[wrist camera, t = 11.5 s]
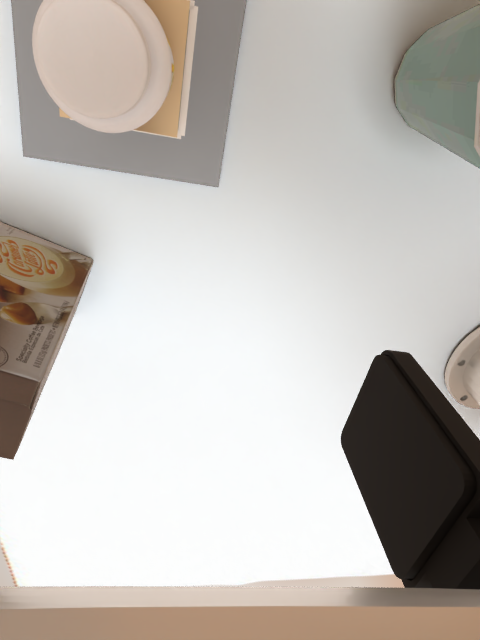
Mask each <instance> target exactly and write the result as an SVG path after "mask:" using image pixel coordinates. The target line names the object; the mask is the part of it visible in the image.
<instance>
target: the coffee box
mask: <svg viewBox="0 0 480 640" xmlns="http://www.w3.org/2000/svg"><path fill="white" fill-rule="evenodd" d="M92 265H93V260H92V259H91V258H89V257H86V256H84V255H81V254H79V253H76V252H74V251H72V250H69V249H67V248H64V247H62V246H59V245H57V244H54V243H52V242H49V241H47V240H44V239H42V238H39V237H37V236H34V235H32V234H30V233H27V232H24V231H22V230H19V229H17V228H14V227H12V226H9V225H7V224H4V223H2V222H0V457H3V458H8V459H14V456H15V454H16V452H17V450H18V448H19V446H20V443H21V441H22V438H23V436H24V434H25V431H26V429H27V426H28V424H29V421H30V419H31V417H32V414H33V412H34V410H35V407H36V405H37V402H38V400H39V397H40V395H41V392H42V390H43V388H44V385H45V383H46V381H47V378H48V376H49V373H50V371H51V369H52V366H53V364H54V362H55V359H56V357H57V355H58V352H59V350H60V347H61V345H62V343H63V340H64V338H65V336H66V333H67V331H68V328H69V326H70V323H71V321H72V319H73V317H74V314H75V312H76V309H77V306H78V303H79V301H80V298H81V296H82V293H83V290H84V287H85V285H86V282H87V279H88V276H89V273H90V271H91V268H92Z"/></svg>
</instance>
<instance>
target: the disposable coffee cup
mask: <svg viewBox="0 0 480 640" xmlns="http://www.w3.org/2000/svg"><path fill="white" fill-rule="evenodd" d="M394 82H395V104H396V107H397V109H398V110H399V112H400V113H401V115H402V117H403V118H404V120H405V121H406V123H407V124H408V126H410V127H411V128H413V129H415V130H416V131H418V132H420V133H421V134H423V135H425V136H426V137H428V138H430V139H431V140H433V141H435V142H436V143H438V144H440V145H441V146H443V147H445V148H446V149H448V150H450V151H451V152H453V153H455V154H456V155H458V156H460V157H461V158H463V159H465V160H466V161H468V162H470V163H471V164H473V165H475V166H476V167H478V168H480V4H479V5H477V6H475V7H473V8H471V9H469V10H467V11H465V12H463V13H461V14H459V15H457V16H455V17H453V18H450V19H448V20H446V21H444V22H442V23H440V24H438V25H436V26H434V27H432V28H430V29H428V30H427V31H426V32H425V33H424V34H423V35H422V36H421V37H420V38H419V39H418V40H417V41H416V42H415V43H414V44H413V45H412V46H411V47H410V48H409V49H408V50H407V52H406V53H405V54H404V57H403V59H402V62H401V64H400V67H399V69H398V72H397V74H396V77H395V80H394Z"/></svg>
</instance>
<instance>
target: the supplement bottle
mask: <svg viewBox="0 0 480 640" xmlns="http://www.w3.org/2000/svg"><path fill="white" fill-rule="evenodd" d="M32 47H33V56H34V61H35V65H36V68H37V71H38V74H39V77H40V79H41V81H42V83H43V85H44V87H45V89H46V91H47V92H48V94H49V95H50V97H51V98H52V99H53V101H54V102H55V103H56V104H57V105H58V106H59V108H60V109H61V110H62V111H63V112H65V113H66V114H67V115H68V116H69V117H71V118H72V119H73V120H75V121H76V122H78V123H80V124H81V125H83V126H85V127H87V128H90V129H93V130H96V131H100V132H105V133H122V132H127V131H131V130H134V129H136V128H138V127H140V126H142V125H144V124H145V123H147V122H148V121H149V120H150V119H151V118H152V117H153V116H154V115H155V114H156V113H157V112H158V111H159V109H160V108H161V106H162V104H163V103H164V101H165V99H166V97H167V96H168V93H169V91H170V89H171V86H172V82H173V76H174V61H173V55H172V51H171V47H170V44H169V41H168V39H167V37H166V35H165V32H164V30H163V28H162V26H161V24H160V22H159V20H158V18H157V17H156V15H155V14H154V12H153V11H152V9H151V8H150V7H149V6H148V5H147V3H146V2H145V1H144V0H43V2H42V3H41V5H40V7H39V9H38V12H37V14H36V17H35V21H34V25H33V33H32Z"/></svg>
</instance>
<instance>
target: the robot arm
mask: <svg viewBox="0 0 480 640" xmlns="http://www.w3.org/2000/svg"><path fill="white" fill-rule="evenodd" d="M445 384H446V387H447V389H448V391H449V392H450V394H451V395H452V396H453V398H454V399H455V400H456V401H457V402H459V403H460V404H462V405H464V406H466V407H470V408H477V409H480V327H479V328H477V329H476V330H475V331H473V332H472V333H470V334H469V335H468V336H467V337H466V338H465V339H464V340H463V341H462V342H461V343H460V344H459V346H458V347H457V348H456V349H455V351H454V352H453V354H452V356H451V357H450V359H449V361H448V364H447V367H446V371H445ZM341 445H342V448H343V450H344V453H345V455H346V458H347V460H348V463H349V465H350V467H351V470H352V472H353V475H354V477H355V480H356V482H357V485H358V487H359V489H360V492H361V494H362V497H363V499H364V502H365V504H366V507H367V509H368V511H369V514H370V516H371V519H372V521H373V524H374V526H375V529H376V531H377V534H378V536H379V538H380V541H381V543H382V546H383V548H384V551H385V553H386V556H387V558H388V560H389V563H390V565H391V568H392V570H393V572H394V574H395V575H396V576H397V577H398V578H400V579H402V582H403V584H404V586H405V588H358V587H355V588H354V587H133V586H85V587H0V640H480V440H479V439H478V438H477V436H476V435H475V434H474V433H473V431H472V430H471V429H470V428H469V426H468V425H467V424H466V423H465V421H464V420H463V419H462V418H461V416H460V415H459V414H458V413H457V411H456V410H455V409H454V408H453V406H452V405H451V404H450V403H449V401H448V400H447V399H446V398H445V396H444V395H443V394H442V393H441V391H440V390H439V389H438V388H437V386H436V385H435V384H434V383H433V381H432V380H431V379H430V378H429V376H428V375H427V374H426V373H425V371H424V370H423V369H422V368H421V366H420V365H419V364H418V363H417V361H416V360H415V359H414V358H413V356H412V355H411V354H409V353H407V352H399V351H391V350H385V351H383V352H382V353H381V355H377V356H376V357H375V358H374V360H373V362H372V364H371V366H370V369H369V371H368V373H367V376H366V378H365V380H364V383H363V385H362V387H361V389H360V392H359V394H358V396H357V399H356V401H355V403H354V405H353V408H352V410H351V412H350V415H349V417H348V419H347V421H346V424H345V426H344V428H343V431H342V434H341Z"/></svg>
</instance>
